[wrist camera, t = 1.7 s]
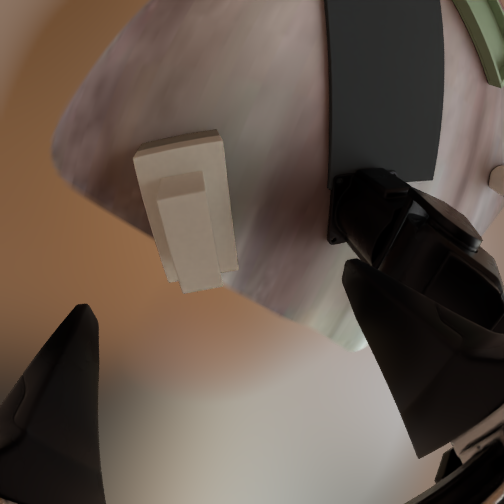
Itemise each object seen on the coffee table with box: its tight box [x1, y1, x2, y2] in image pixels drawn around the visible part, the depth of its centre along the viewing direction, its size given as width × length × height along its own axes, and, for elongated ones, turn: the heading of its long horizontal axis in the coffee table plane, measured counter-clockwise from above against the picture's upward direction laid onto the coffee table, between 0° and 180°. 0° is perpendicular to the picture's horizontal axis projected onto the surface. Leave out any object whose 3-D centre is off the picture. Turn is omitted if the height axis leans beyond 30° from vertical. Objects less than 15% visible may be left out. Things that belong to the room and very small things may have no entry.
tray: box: [452, 0, 504, 88], centre depth 12 cm, size 12×8×2 cm
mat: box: [324, 0, 444, 190], centre depth 16 cm, size 20×12×1 cm, turn 4°
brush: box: [133, 129, 239, 294], centre depth 17 cm, size 9×5×6 cm, turn 4°
